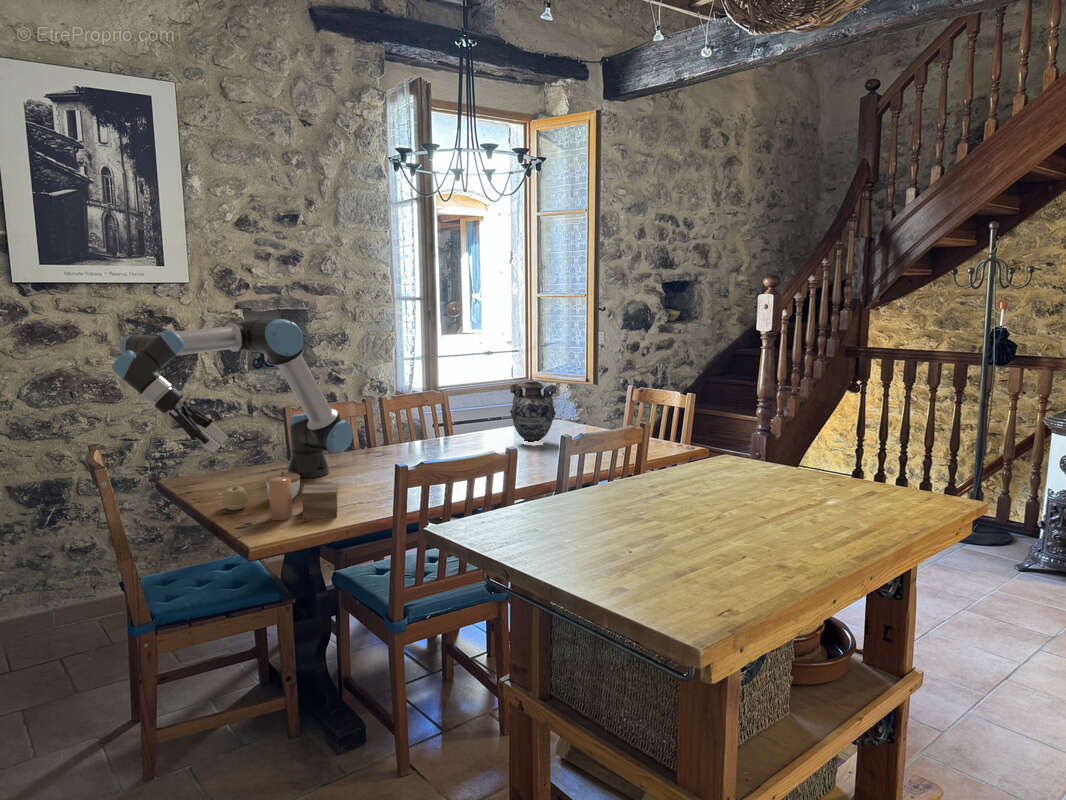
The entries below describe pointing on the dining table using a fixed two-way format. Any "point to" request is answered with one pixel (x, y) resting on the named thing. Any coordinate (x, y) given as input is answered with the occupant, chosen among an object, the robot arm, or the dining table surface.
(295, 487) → the lidded jar
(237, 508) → the apple
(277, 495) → the dome-topped peach cylinder
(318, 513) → the walnut crate
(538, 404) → the decorative vase
